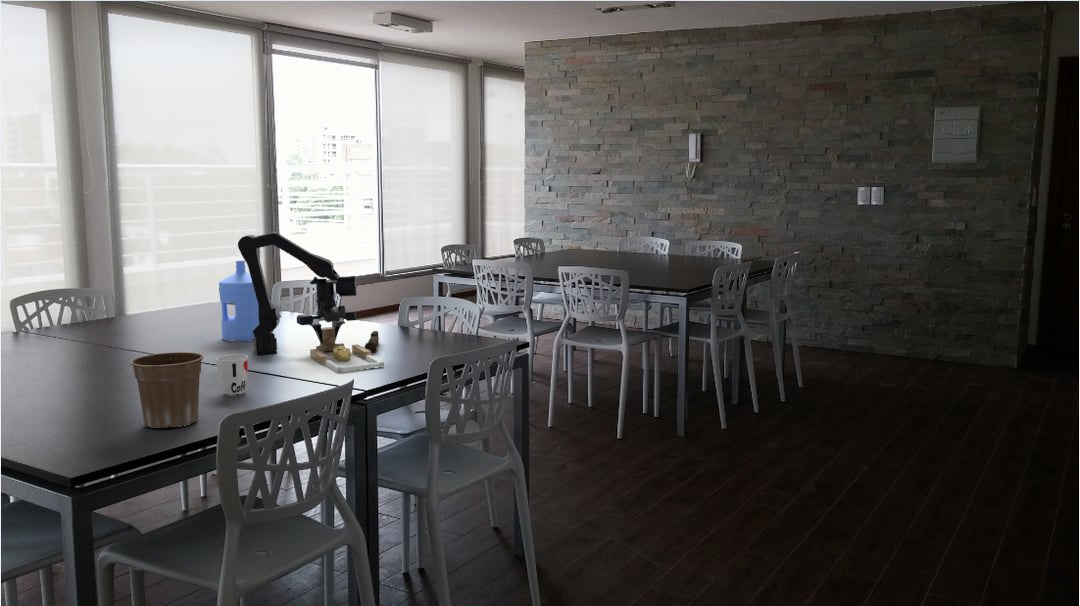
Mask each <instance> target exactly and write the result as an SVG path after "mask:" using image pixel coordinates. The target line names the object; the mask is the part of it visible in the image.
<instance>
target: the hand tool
mask: <svg viewBox="0 0 1080 606" xmlns="http://www.w3.org/2000/svg"><path fill="white" fill-rule="evenodd" d="M379 340H380V338H379V332H378V330H373V331H372V332H371V333H370V337H369V340H368V341H367V342H366V343H365V345H364V348H366V349H368V350H370V351H371V354H375V353H377V350H378V346H379V342H380V341H379Z"/></svg>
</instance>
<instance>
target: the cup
mask: <svg viewBox="0 0 1080 606" xmlns="http://www.w3.org/2000/svg"><path fill="white" fill-rule="evenodd" d="M248 361H249V360H248V355H247V354H240V353H239V354H225V355H221V356H218V357H216V367H217V375H218V378H219V381H220V387H221V388H222V391H223V393H225V394H229V395H228V396H236V395H235V394H239V395H242V393H243V394H244V393H245V390H246V386H247V380H248V372H249V369H248V367H249V365H248ZM225 394H224V395H225ZM233 394H234V395H233Z"/></svg>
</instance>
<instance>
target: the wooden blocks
mask: <svg viewBox="0 0 1080 606" xmlns="http://www.w3.org/2000/svg"><path fill="white" fill-rule="evenodd" d="M351 351H352V353H353V354H354V355H356V356H358V355H359V356H358V357H360V356H361V357H360V358H361V359H363V358H364V360H366V355H371V356H372V353H371V351H370V350H368V349H366V348H365V346H364V347H363V346H361V345H360V344H351ZM309 352H310V353H309V354H310V359H313V360H314V361H316V362H317V363H319V364H320V365H323V366H324V365H326V363H325V360H329V355H327V354H325V353H324V352H320V351H319V350H317V349H316V348H313V349H309Z"/></svg>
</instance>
